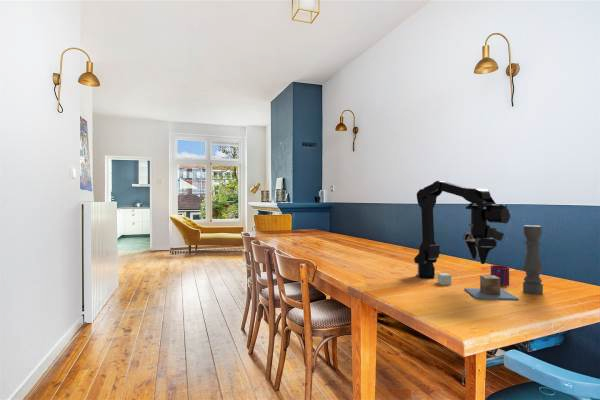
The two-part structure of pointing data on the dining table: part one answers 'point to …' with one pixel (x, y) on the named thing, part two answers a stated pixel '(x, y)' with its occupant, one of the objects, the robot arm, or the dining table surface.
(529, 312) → the dining table surface
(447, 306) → the dining table surface
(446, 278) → the sage block
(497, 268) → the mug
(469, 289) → the placemat
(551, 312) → the dining table surface
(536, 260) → the candle holder
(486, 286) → the walnut block
